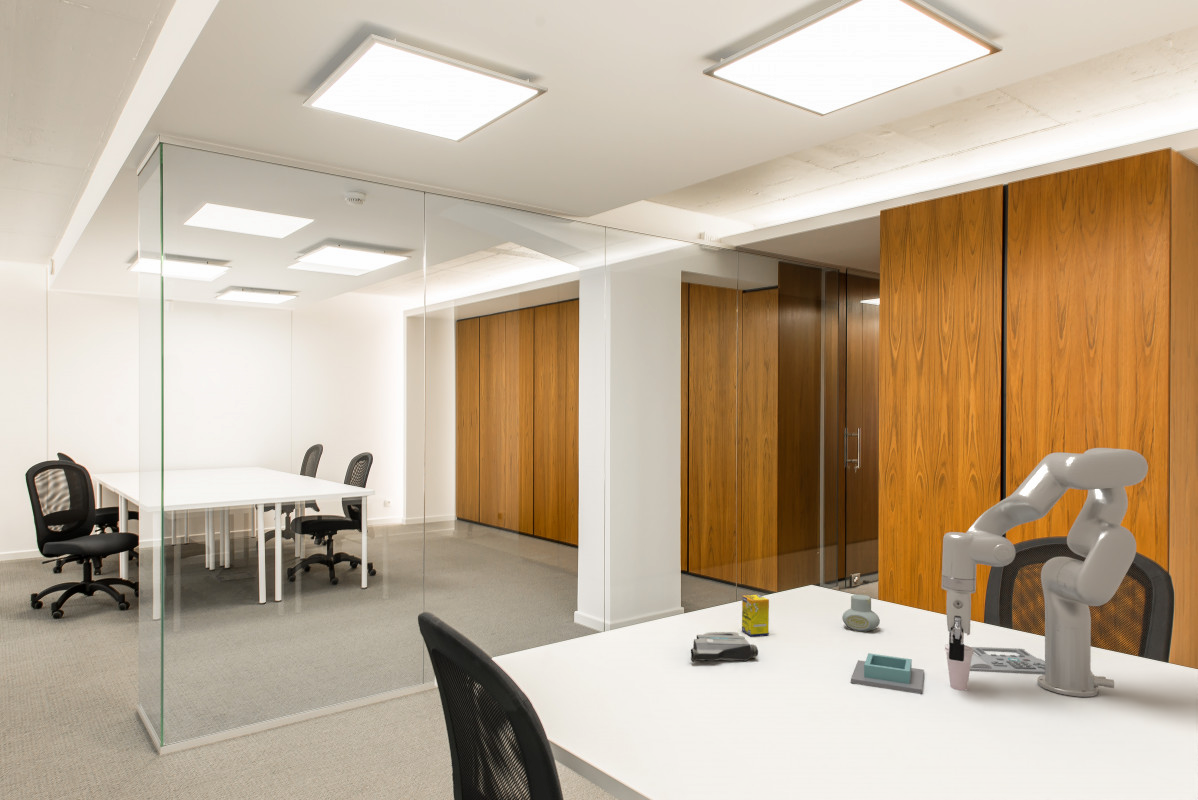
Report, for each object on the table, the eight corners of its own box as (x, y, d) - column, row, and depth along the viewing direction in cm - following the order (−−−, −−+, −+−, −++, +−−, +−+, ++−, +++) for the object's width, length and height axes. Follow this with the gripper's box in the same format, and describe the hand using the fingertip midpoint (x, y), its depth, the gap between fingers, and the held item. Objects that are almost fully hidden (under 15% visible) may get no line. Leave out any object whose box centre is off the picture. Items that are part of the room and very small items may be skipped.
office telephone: (968, 663, 196) (941, 640, 216) (968, 673, 196) (941, 650, 216) (1062, 667, 194) (1026, 643, 214) (1062, 677, 194) (1026, 653, 214)
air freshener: (882, 628, 235) (882, 596, 235) (876, 635, 228) (876, 601, 228) (846, 623, 240) (846, 591, 241) (839, 629, 233) (839, 596, 234)
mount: (923, 673, 193) (923, 657, 193) (921, 693, 179) (921, 676, 179) (858, 663, 200) (858, 648, 200) (850, 682, 186) (850, 666, 186)
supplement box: (741, 631, 229) (741, 595, 229) (758, 630, 231) (759, 594, 231) (750, 637, 223) (751, 600, 223) (768, 635, 225) (769, 598, 225)
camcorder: (764, 661, 202) (764, 641, 202) (694, 668, 195) (695, 647, 195) (734, 644, 217) (734, 626, 217) (668, 650, 210) (669, 631, 211)
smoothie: (970, 694, 179) (970, 634, 179) (941, 688, 183) (941, 629, 183) (976, 686, 184) (976, 629, 185) (947, 681, 188) (948, 624, 188)
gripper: (976, 593, 175) (974, 667, 174) (974, 579, 190) (972, 648, 190) (941, 588, 178) (938, 661, 178) (942, 575, 194) (939, 643, 193)
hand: (956, 654), depth 184 cm, fingers open, 9 cm apart
